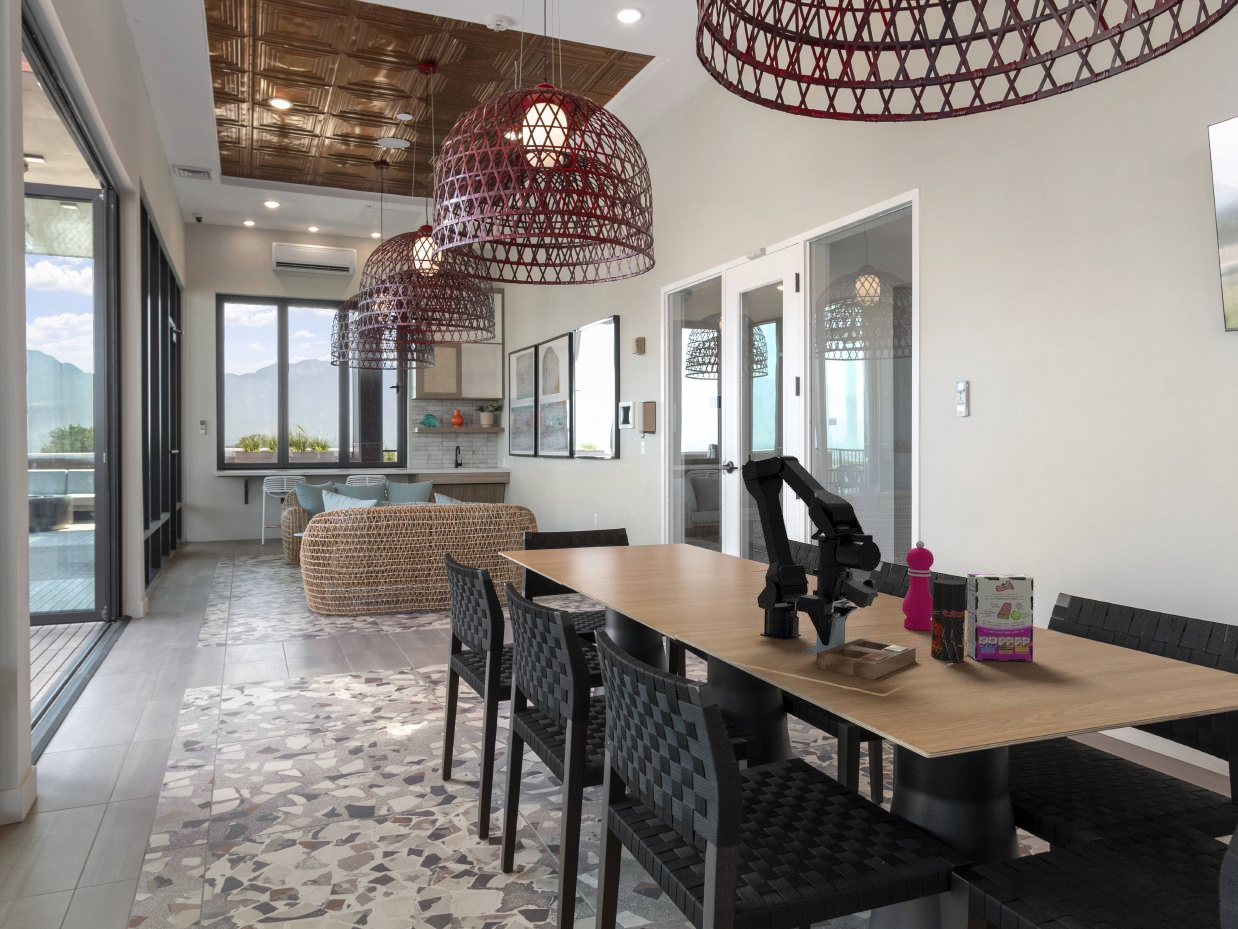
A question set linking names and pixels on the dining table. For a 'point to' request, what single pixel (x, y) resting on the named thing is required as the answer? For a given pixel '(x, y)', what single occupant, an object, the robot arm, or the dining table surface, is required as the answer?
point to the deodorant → (948, 620)
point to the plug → (834, 634)
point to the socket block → (866, 658)
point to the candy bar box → (1000, 617)
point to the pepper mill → (918, 589)
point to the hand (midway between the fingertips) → (830, 643)
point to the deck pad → (810, 650)
